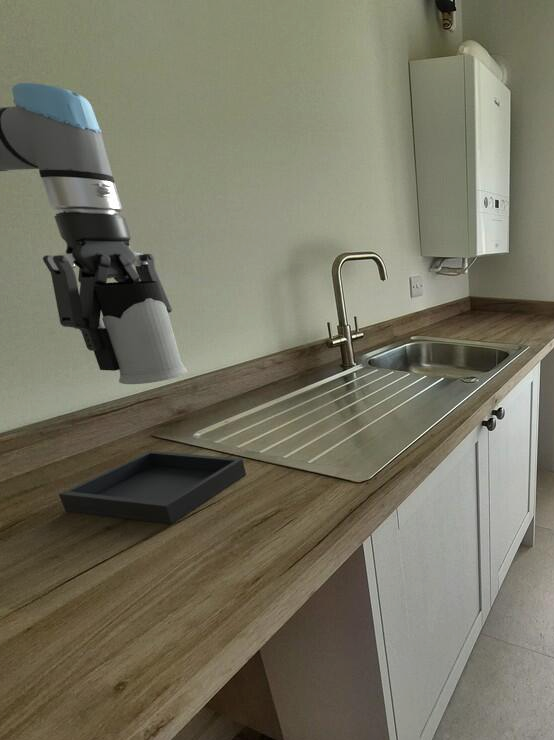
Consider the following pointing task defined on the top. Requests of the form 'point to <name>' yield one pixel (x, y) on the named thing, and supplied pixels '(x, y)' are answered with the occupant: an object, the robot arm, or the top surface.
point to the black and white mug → (139, 332)
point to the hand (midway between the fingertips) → (136, 362)
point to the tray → (154, 487)
